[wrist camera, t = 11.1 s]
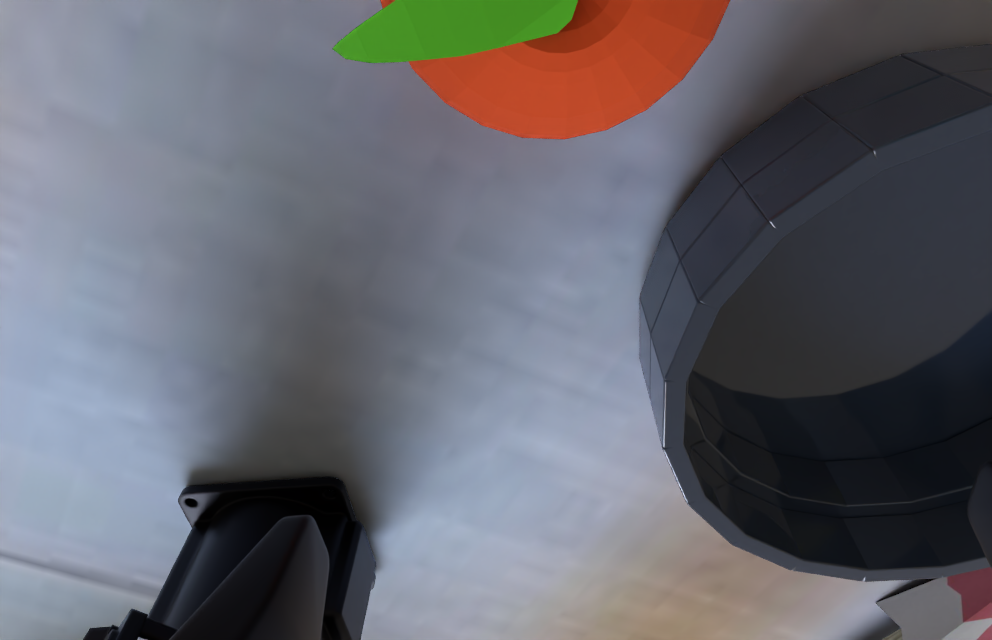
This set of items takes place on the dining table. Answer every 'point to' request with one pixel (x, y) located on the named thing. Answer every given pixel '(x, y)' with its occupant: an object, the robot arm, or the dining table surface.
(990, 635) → the paintbrush
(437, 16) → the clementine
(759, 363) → the fruit bowl
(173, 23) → the dining table surface
